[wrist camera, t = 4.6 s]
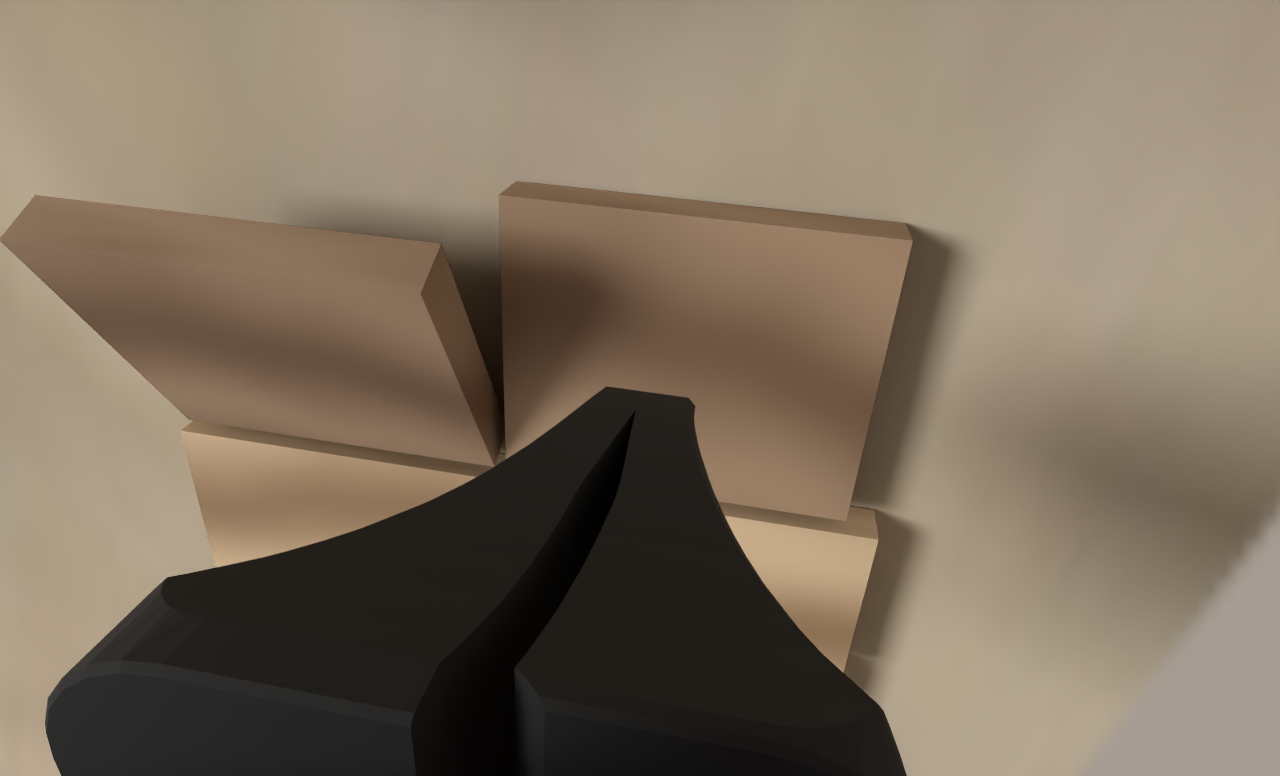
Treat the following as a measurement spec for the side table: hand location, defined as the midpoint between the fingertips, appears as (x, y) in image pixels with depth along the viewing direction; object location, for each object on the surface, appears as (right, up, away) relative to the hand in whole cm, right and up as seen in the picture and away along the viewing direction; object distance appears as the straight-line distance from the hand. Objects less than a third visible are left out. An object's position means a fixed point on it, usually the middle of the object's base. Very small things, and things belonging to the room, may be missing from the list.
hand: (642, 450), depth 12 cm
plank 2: (+1, +2, +7) cm, 7 cm away
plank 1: (-8, +2, +7) cm, 10 cm away
